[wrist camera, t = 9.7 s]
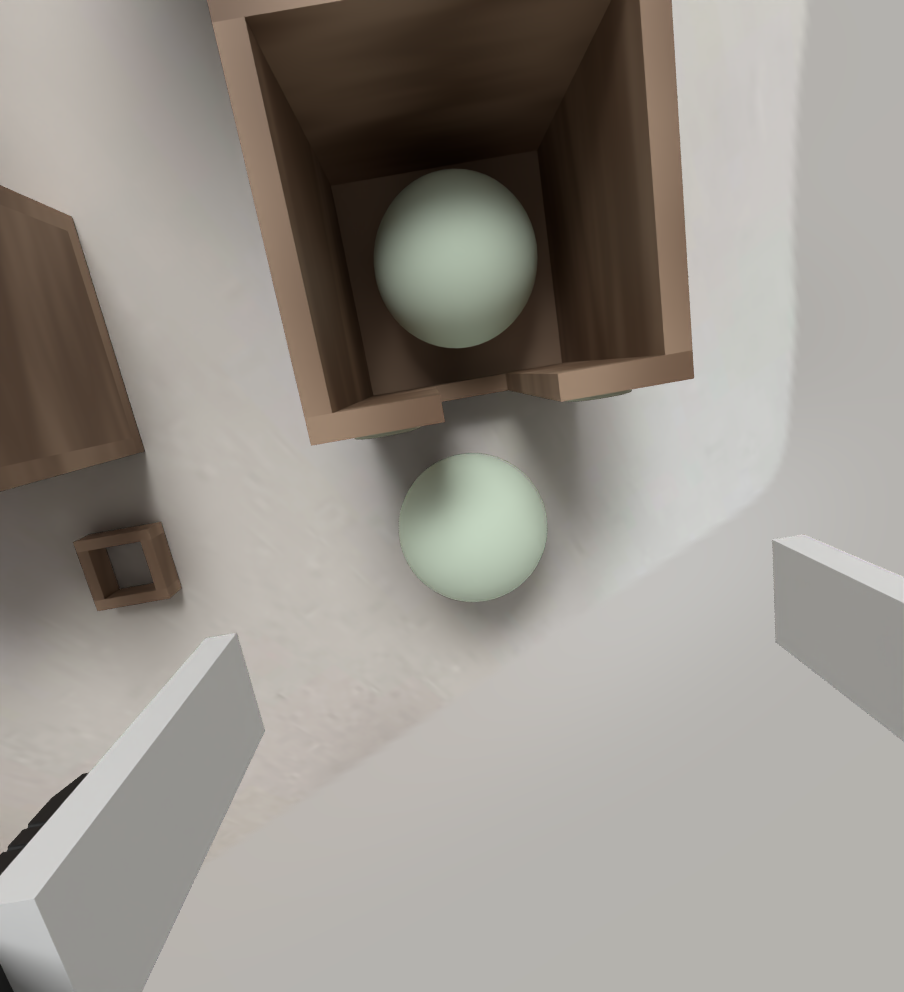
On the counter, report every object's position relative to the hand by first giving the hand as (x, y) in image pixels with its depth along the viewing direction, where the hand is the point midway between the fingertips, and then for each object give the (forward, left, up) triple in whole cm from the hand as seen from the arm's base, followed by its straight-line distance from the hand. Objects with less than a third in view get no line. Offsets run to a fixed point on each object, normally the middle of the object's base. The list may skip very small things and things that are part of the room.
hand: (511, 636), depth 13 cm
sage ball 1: (+1, +10, -12) cm, 16 cm away
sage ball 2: (0, 0, -12) cm, 12 cm away
